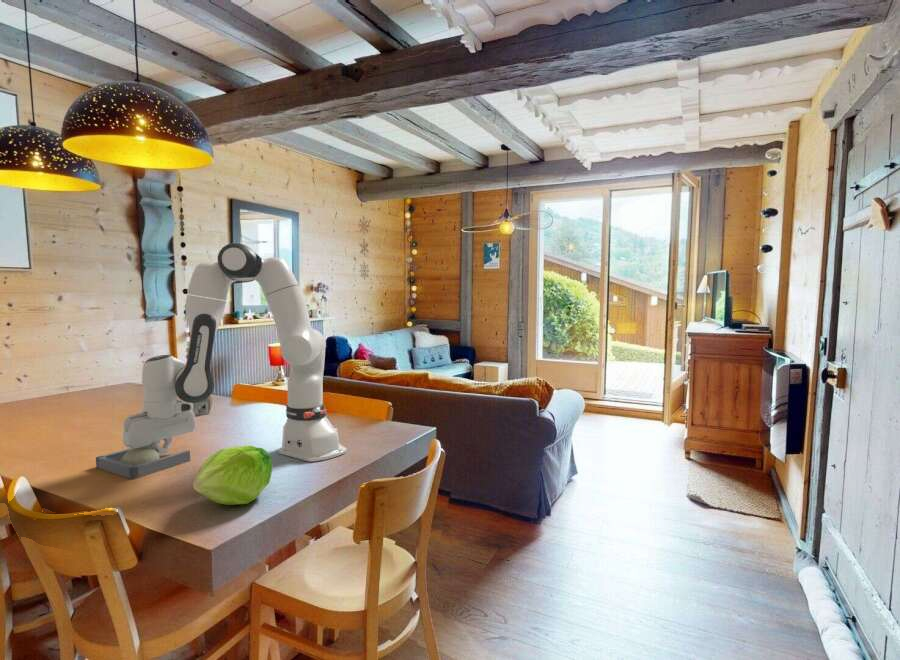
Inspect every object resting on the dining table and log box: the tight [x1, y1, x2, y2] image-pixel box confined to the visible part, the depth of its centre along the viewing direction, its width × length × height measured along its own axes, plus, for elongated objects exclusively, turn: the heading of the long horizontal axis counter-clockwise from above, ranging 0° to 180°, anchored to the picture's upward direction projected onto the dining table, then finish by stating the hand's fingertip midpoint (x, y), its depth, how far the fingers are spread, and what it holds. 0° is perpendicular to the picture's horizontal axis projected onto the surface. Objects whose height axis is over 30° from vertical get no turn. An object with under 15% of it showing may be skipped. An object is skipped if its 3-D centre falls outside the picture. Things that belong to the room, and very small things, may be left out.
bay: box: [95, 443, 191, 480], centre depth 139 cm, size 16×18×3 cm
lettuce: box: [192, 445, 273, 506], centre depth 114 cm, size 15×20×14 cm
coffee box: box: [192, 372, 214, 416], centre depth 199 cm, size 9×6×16 cm
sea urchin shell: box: [121, 447, 160, 466], centre depth 138 cm, size 9×8×8 cm
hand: (161, 453), depth 144 cm, fingers closed
